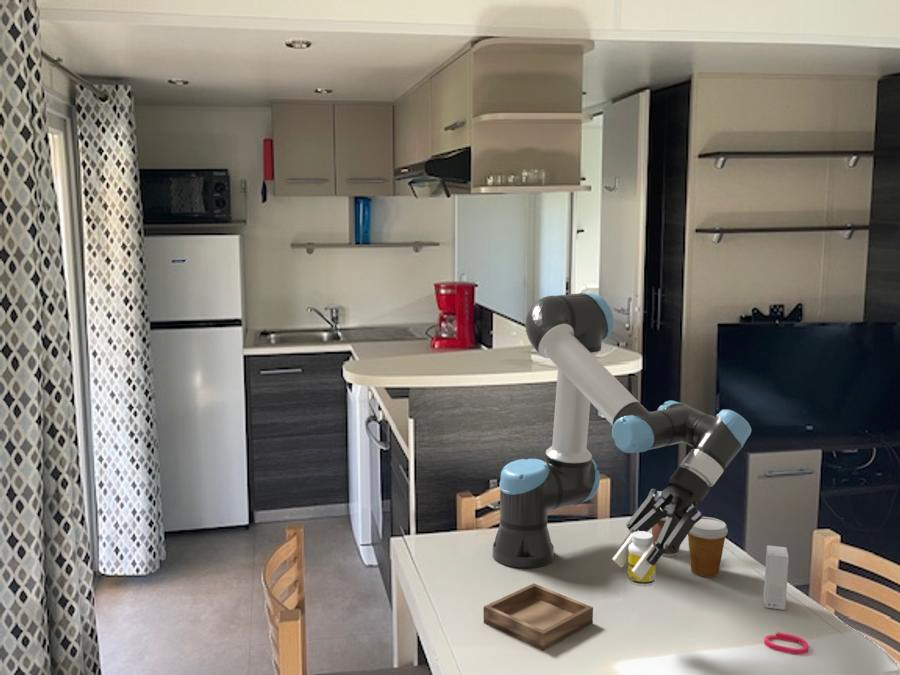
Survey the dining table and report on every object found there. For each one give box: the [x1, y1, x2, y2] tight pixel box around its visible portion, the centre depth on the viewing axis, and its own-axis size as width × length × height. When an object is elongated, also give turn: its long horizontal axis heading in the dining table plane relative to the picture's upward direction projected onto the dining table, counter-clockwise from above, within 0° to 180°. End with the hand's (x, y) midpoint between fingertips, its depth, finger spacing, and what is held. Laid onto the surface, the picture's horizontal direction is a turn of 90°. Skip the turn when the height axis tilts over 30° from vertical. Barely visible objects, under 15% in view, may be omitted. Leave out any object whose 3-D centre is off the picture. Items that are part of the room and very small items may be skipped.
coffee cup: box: [651, 507, 681, 557], centre depth 215 cm, size 9×9×12 cm
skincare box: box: [763, 545, 790, 611], centre depth 186 cm, size 6×4×12 cm
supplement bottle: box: [627, 530, 657, 588], centre depth 170 cm, size 5×5×10 cm
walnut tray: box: [483, 583, 594, 651], centre depth 178 cm, size 16×16×4 cm
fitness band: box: [763, 631, 810, 655], centre depth 169 cm, size 8×6×2 cm
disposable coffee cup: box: [687, 516, 729, 578], centre depth 203 cm, size 10×10×12 cm
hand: (626, 568), depth 169 cm, fingers closed on supplement bottle, 5 cm apart
